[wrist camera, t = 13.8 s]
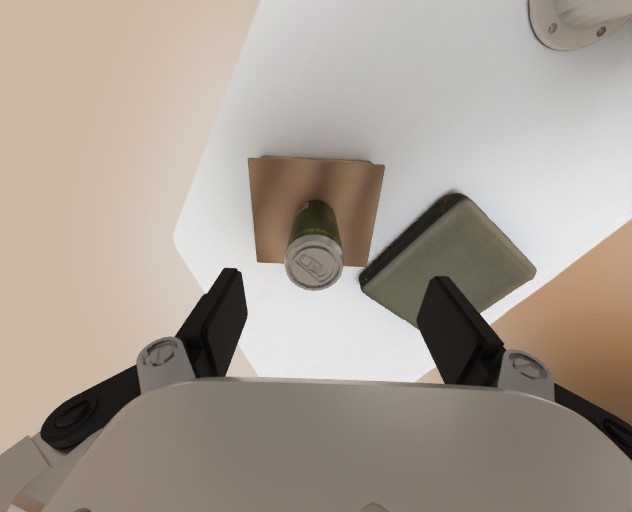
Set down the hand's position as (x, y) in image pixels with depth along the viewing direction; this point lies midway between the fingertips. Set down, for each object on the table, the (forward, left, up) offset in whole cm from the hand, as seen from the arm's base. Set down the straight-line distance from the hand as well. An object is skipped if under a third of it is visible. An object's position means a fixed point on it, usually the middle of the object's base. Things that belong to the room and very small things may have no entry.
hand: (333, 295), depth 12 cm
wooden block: (+1, +3, -27) cm, 27 cm away
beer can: (+1, +3, -20) cm, 20 cm away
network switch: (-22, +14, -27) cm, 38 cm away
